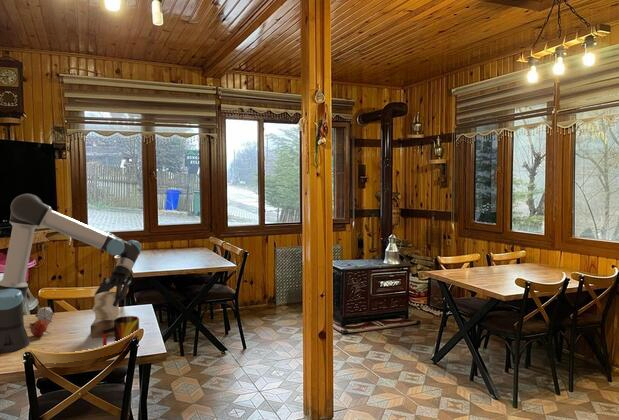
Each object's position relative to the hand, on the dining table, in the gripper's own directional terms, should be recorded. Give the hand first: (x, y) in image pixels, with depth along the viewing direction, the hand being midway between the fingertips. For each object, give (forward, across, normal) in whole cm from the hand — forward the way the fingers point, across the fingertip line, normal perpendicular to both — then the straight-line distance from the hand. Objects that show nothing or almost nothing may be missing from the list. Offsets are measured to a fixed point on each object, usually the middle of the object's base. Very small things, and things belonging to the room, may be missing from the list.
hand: (101, 311), depth 208 cm
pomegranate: (+12, +28, -4) cm, 31 cm away
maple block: (0, 0, -5) cm, 5 cm away
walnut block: (+6, 0, -10) cm, 12 cm away
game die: (0, +41, -16) cm, 44 cm away
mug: (+17, -20, +1) cm, 26 cm away
